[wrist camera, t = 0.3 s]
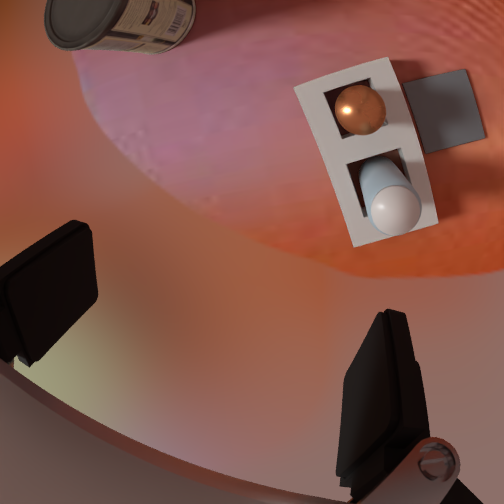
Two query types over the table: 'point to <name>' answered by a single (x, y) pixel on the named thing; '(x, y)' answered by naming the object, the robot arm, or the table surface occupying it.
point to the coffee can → (118, 24)
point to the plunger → (360, 110)
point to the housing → (366, 143)
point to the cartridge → (388, 197)
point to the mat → (444, 110)
